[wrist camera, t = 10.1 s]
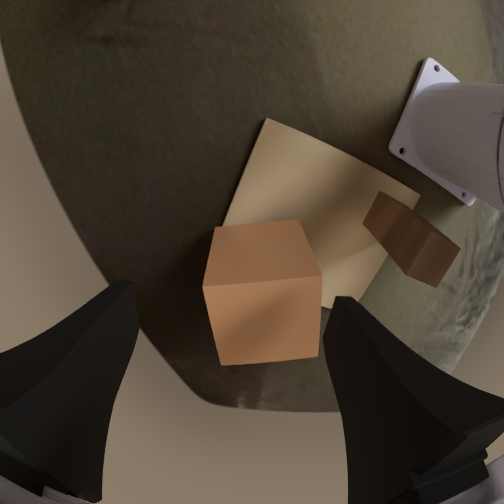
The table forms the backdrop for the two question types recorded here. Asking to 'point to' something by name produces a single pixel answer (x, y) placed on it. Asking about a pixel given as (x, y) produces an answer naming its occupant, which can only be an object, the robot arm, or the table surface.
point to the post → (410, 240)
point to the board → (317, 203)
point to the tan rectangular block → (263, 293)
